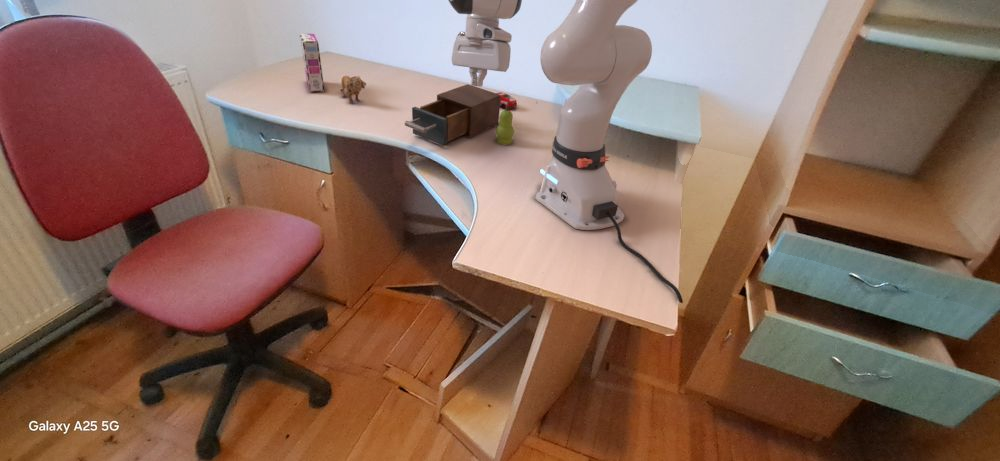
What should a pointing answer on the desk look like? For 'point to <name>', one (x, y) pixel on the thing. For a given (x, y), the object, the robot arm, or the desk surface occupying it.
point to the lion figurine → (352, 87)
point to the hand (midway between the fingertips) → (476, 85)
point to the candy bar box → (312, 62)
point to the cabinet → (475, 107)
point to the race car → (507, 101)
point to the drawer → (439, 121)
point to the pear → (505, 128)
